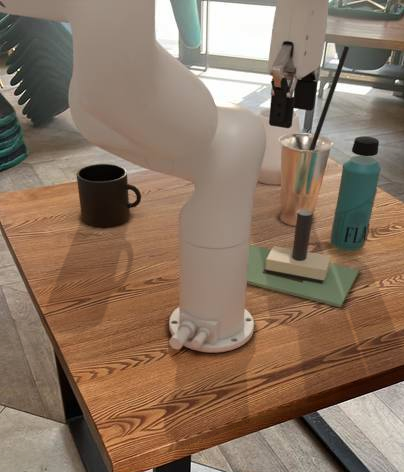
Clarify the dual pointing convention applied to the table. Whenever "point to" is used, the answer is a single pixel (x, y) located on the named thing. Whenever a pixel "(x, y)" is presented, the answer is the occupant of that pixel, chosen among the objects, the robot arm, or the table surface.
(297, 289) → the mat
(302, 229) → the scrub brush
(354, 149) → the beverage bottle
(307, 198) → the copper tumbler with straw
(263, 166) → the cup
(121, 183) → the mug
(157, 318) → the table surface
